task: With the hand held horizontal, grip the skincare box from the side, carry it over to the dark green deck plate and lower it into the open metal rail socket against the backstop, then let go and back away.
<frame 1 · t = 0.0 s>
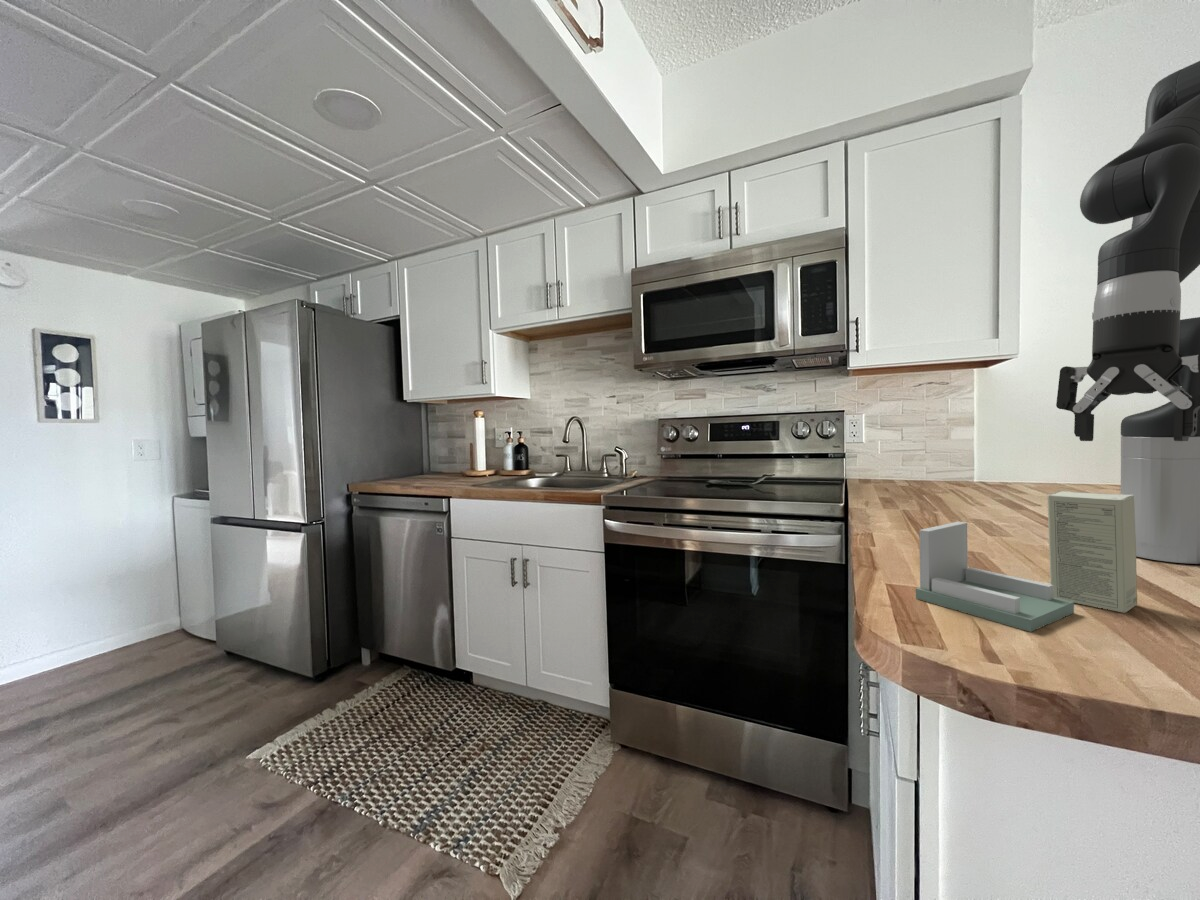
hand: (1130, 441, 62), 17 cm above the table, tool pointing down, fingers open, 8 cm apart
skincare box: (1091, 603, 54), on the table
deck socket: (990, 605, 54), on the table
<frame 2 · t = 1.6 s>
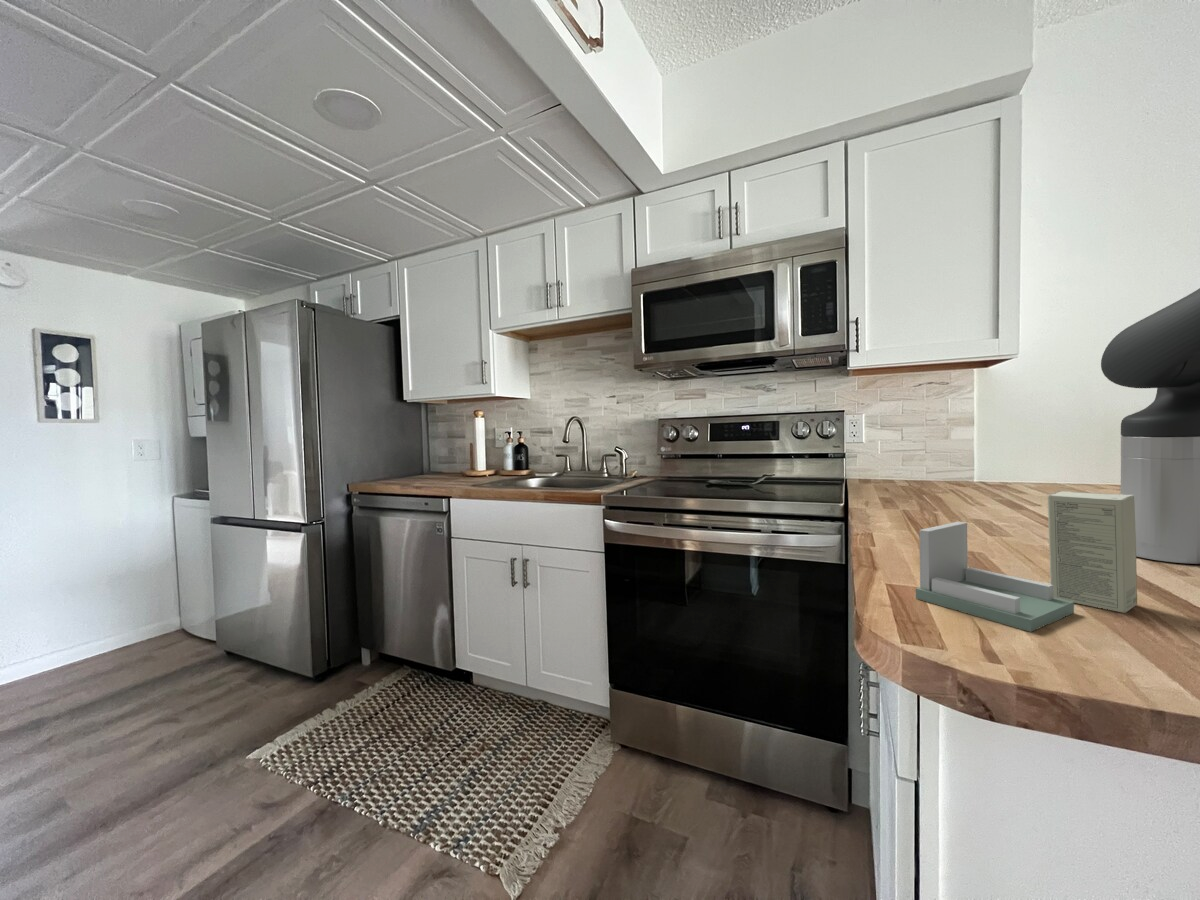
nothing on the table moved.
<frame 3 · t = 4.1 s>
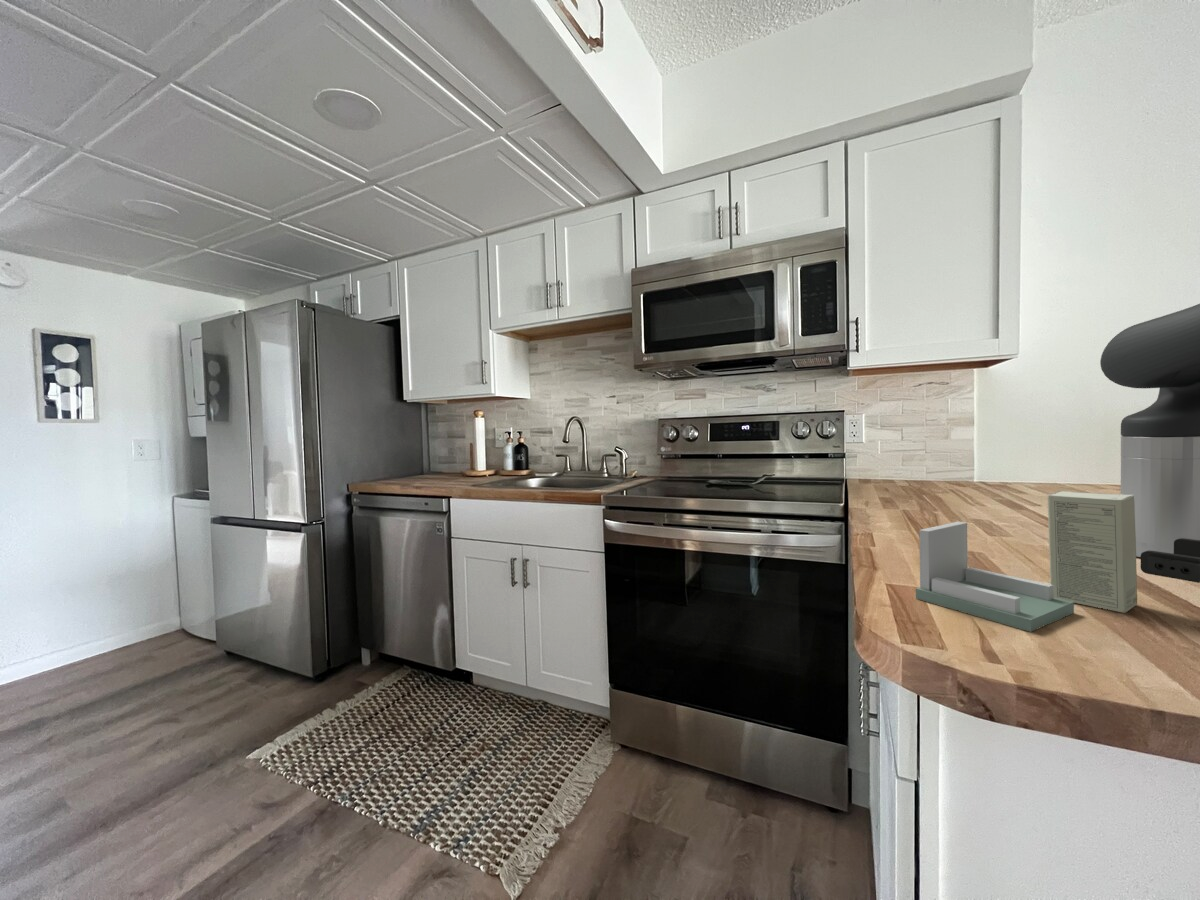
hand: (1158, 554, 49), 6 cm above the table, tool horizontal, fingers open, 8 cm apart
nothing on the table moved.
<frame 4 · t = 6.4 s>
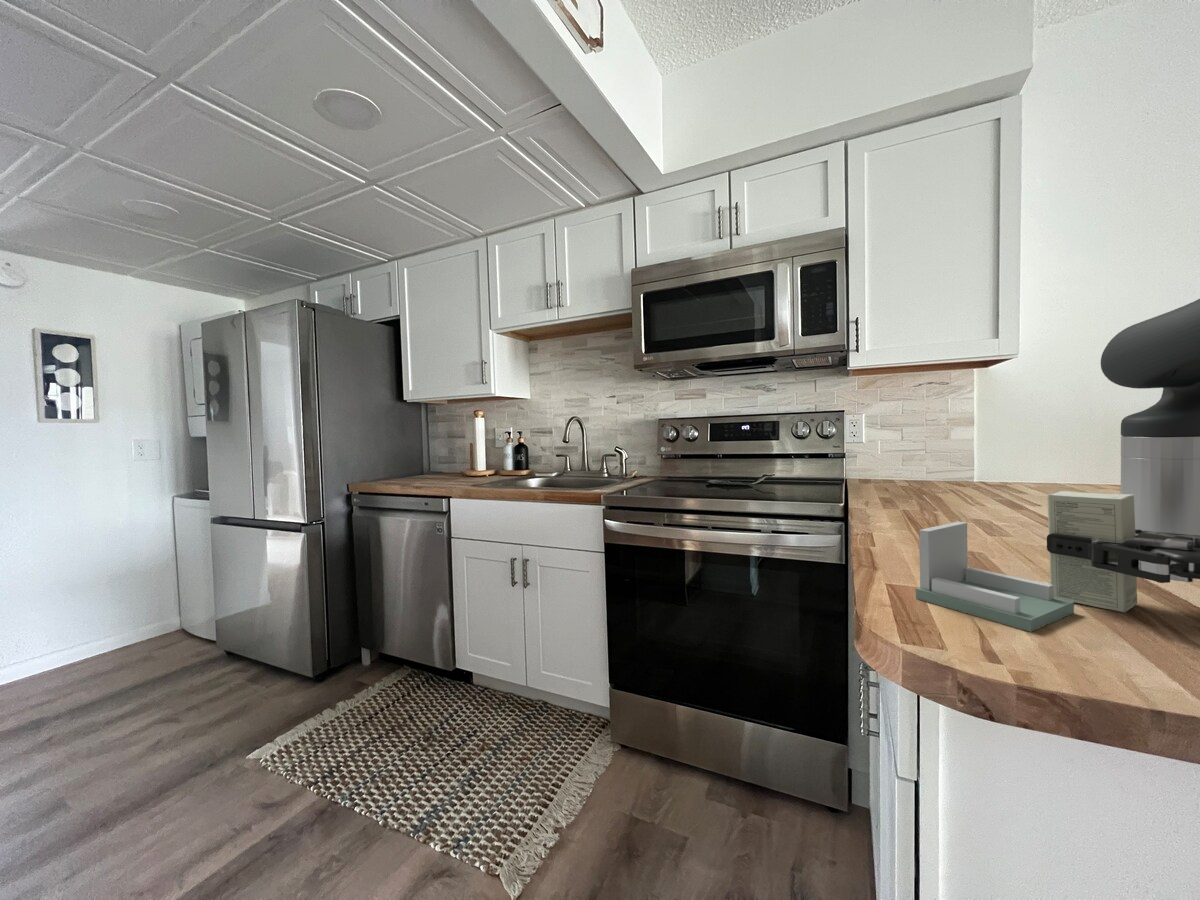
hand: (1059, 539, 56), 7 cm above the table, tool horizontal, fingers closed on skincare box, 4 cm apart
skincare box: (1090, 603, 54), on the table, touching gripper
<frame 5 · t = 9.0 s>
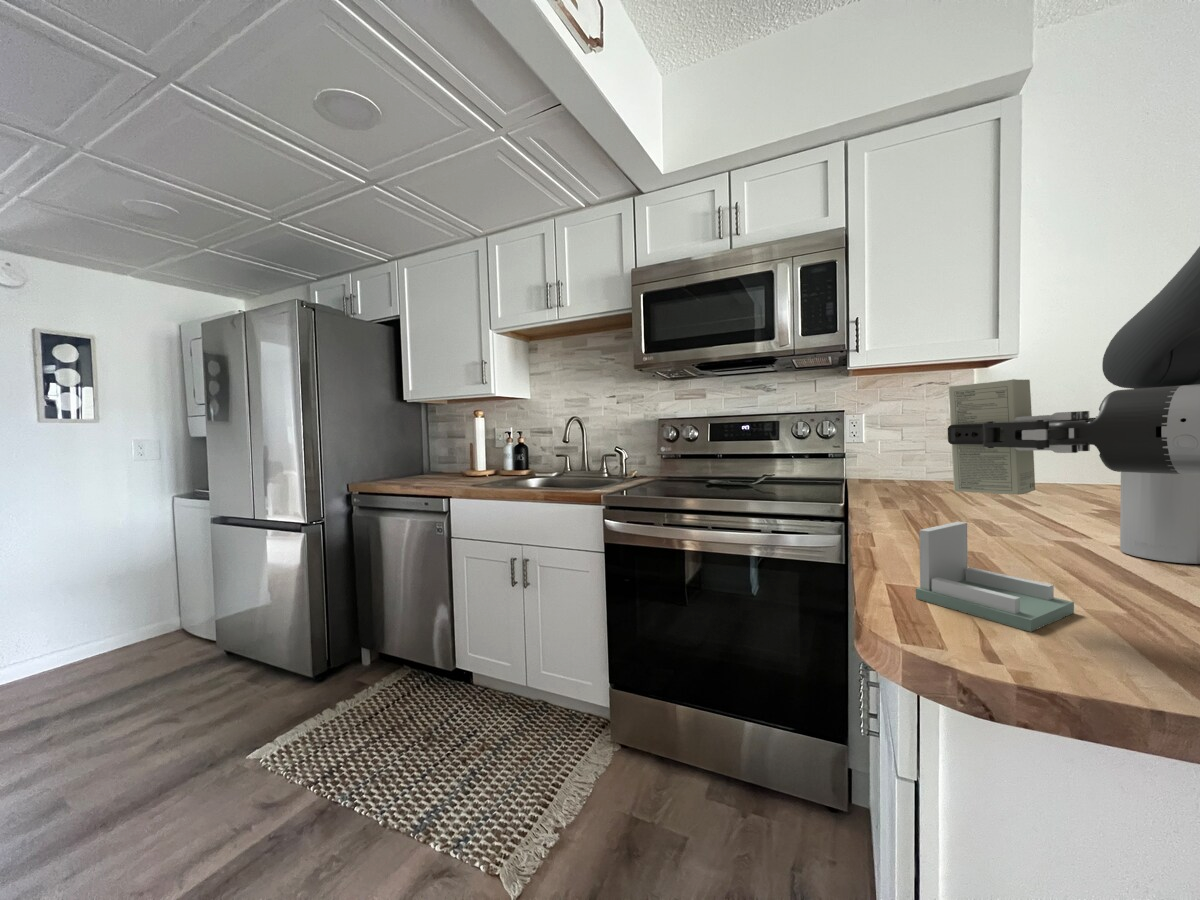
hand: (963, 433, 56), 19 cm above the table, tool horizontal, fingers closed on skincare box, 4 cm apart
skincare box: (991, 493, 53), point 13 cm above the table, touching gripper
when the fingers open (9 cm above the table, at t = 11.6 s): skincare box drops 1 cm, resting on deck socket.
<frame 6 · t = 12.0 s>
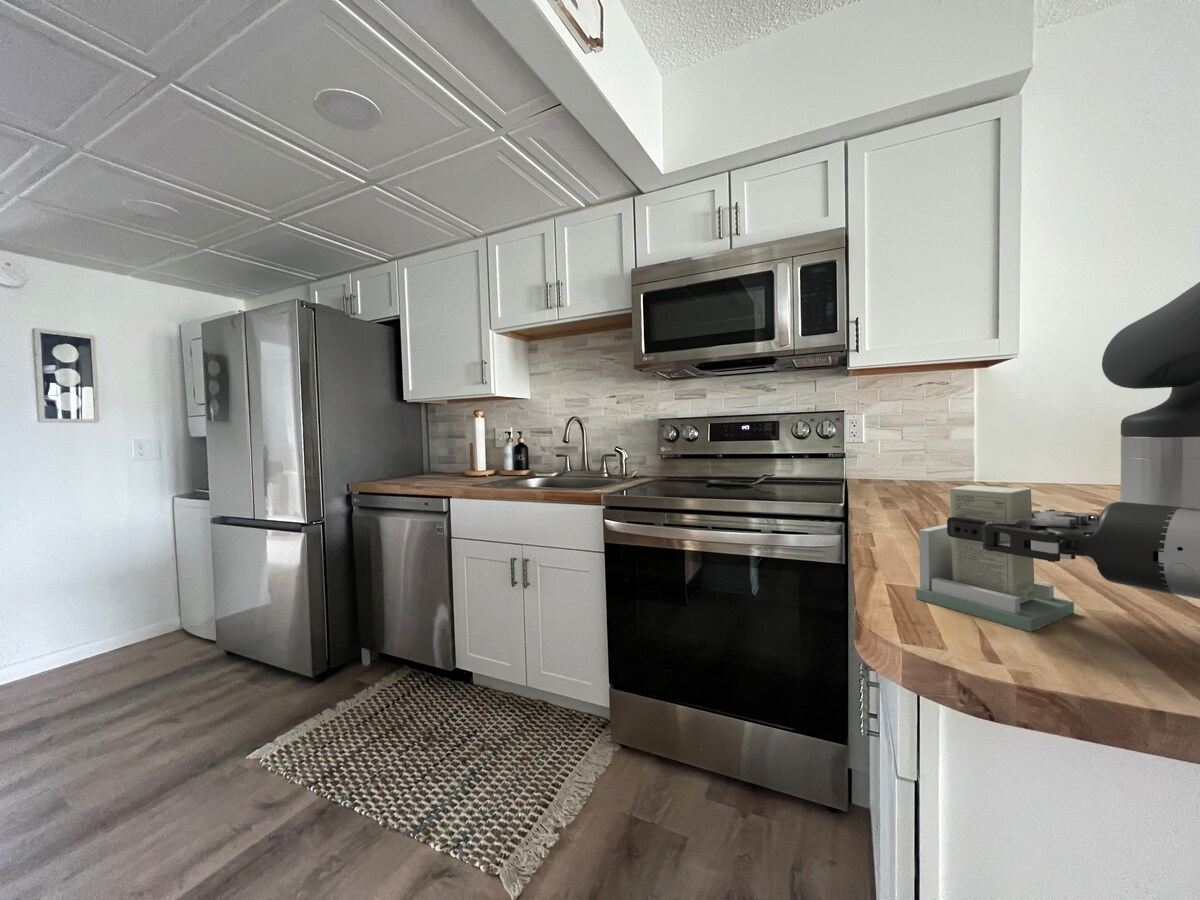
hand: (969, 521, 56), 9 cm above the table, tool horizontal, fingers open, 7 cm apart
skincare box: (990, 597, 54), point 1 cm above the table, touching deck socket
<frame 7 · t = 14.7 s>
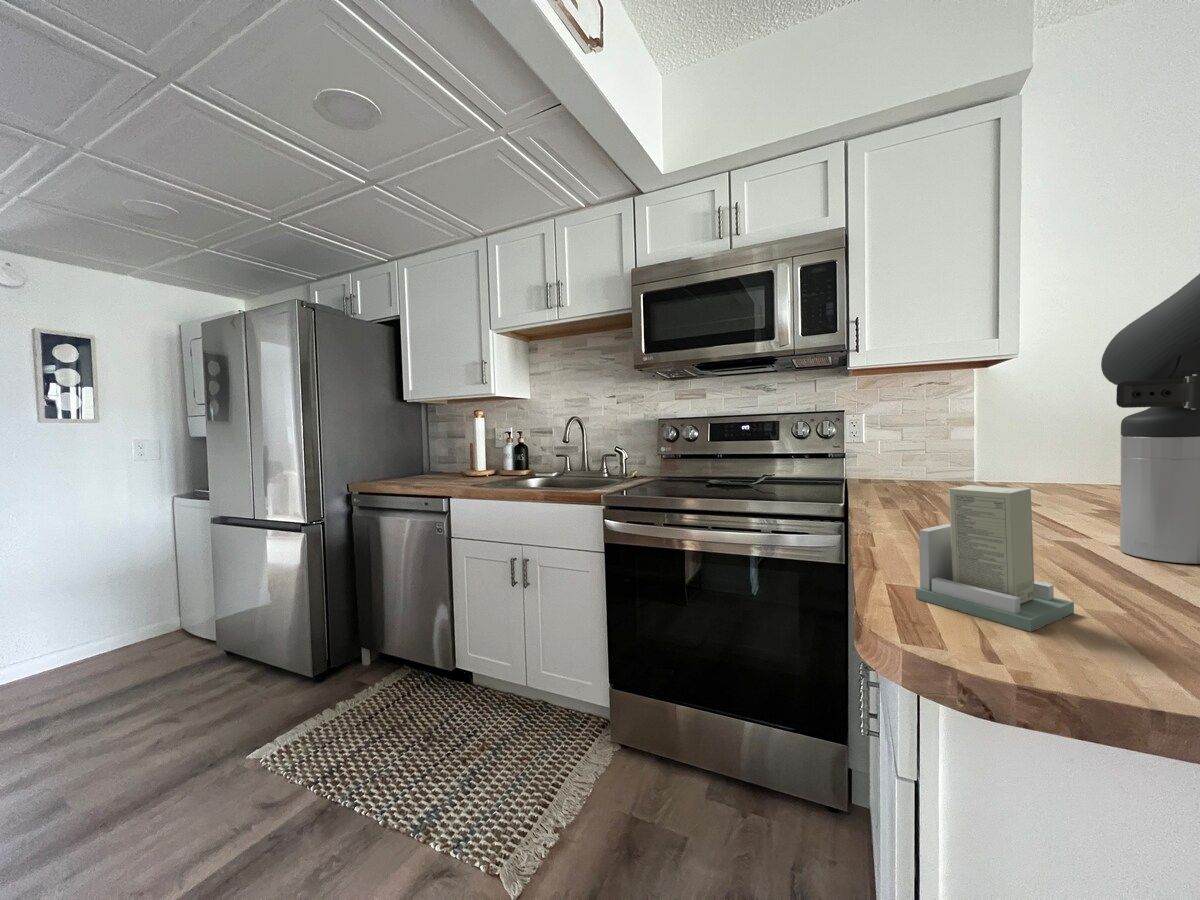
hand: (1139, 393, 43), 23 cm above the table, tool horizontal, fingers open, 8 cm apart
nothing on the table moved.
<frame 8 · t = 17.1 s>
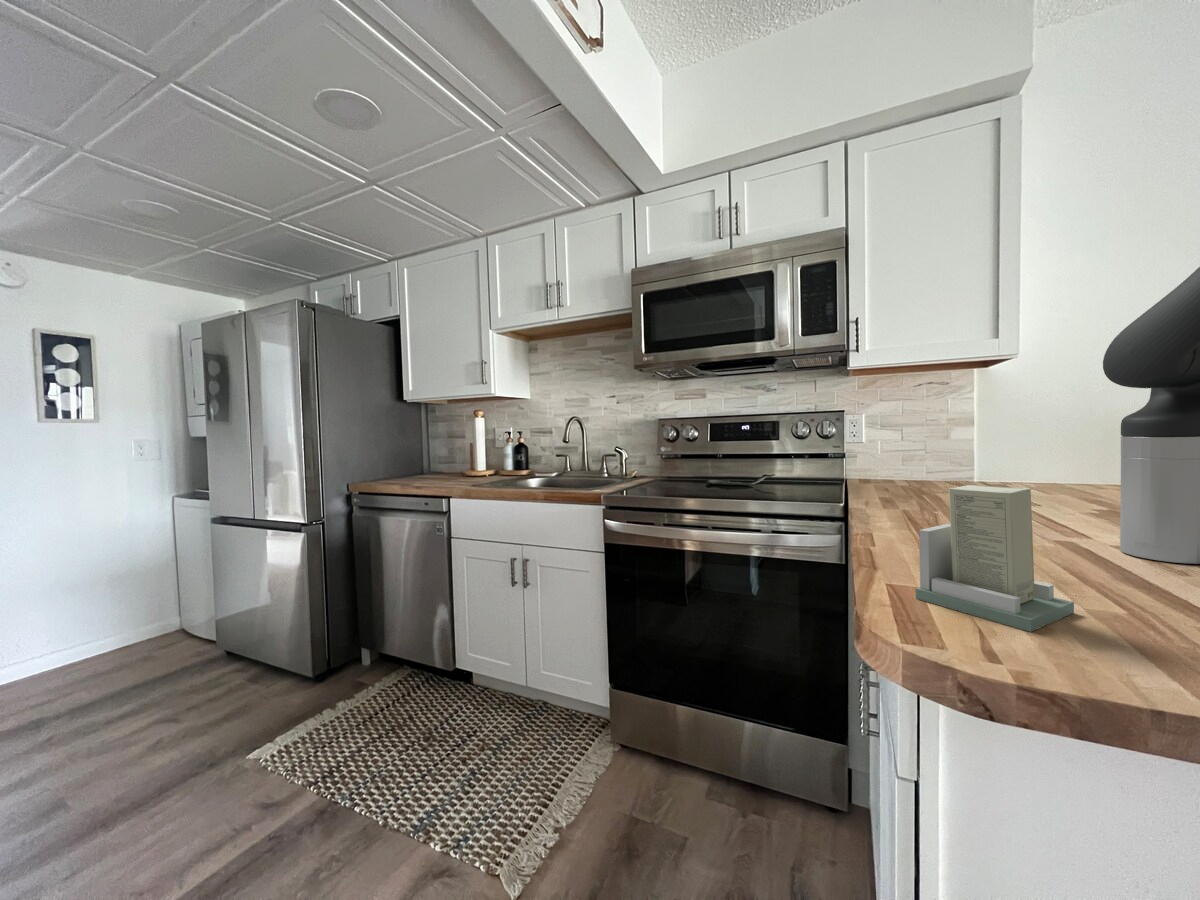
nothing on the table moved.
at the end: skincare box inside the target area on the deck socket (0.6 cm from its centre), point 1.0 cm above the deck socket's base; skincare box tilted 0°; the gripper is holding nothing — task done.
